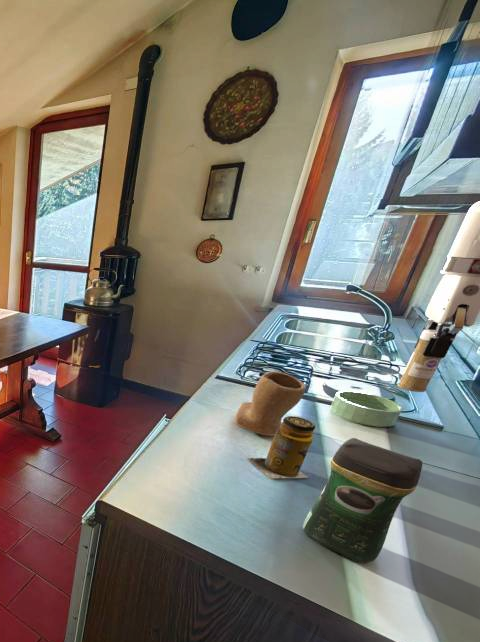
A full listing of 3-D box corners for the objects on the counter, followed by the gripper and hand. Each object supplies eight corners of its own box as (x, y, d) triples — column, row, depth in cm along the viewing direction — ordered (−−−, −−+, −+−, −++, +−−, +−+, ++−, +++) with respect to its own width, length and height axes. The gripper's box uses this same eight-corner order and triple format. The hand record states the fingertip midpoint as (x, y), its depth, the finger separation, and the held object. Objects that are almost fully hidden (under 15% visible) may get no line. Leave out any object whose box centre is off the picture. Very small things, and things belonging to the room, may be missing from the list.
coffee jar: (382, 550, 65) (436, 456, 57) (367, 572, 61) (423, 474, 53) (311, 515, 72) (351, 429, 65) (293, 533, 68) (334, 443, 61)
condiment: (308, 478, 83) (330, 429, 78) (270, 479, 82) (289, 430, 77) (281, 458, 89) (300, 412, 84) (246, 459, 89) (262, 412, 84)
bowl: (387, 414, 110) (395, 398, 108) (399, 433, 100) (408, 416, 98) (326, 402, 117) (333, 386, 115) (332, 419, 107) (339, 403, 105)
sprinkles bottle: (410, 392, 87) (439, 334, 81) (390, 384, 91) (417, 328, 85) (431, 393, 86) (462, 334, 81) (410, 384, 91) (438, 328, 85)
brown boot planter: (284, 445, 94) (306, 389, 88) (228, 428, 102) (245, 375, 96) (291, 423, 105) (311, 371, 99) (239, 409, 112) (255, 360, 106)
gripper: (522, 273, 70) (470, 368, 77) (480, 264, 83) (438, 346, 90) (460, 270, 73) (416, 361, 81) (429, 262, 86) (393, 341, 94)
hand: (428, 352), depth 85 cm, fingers closed on sprinkles bottle, 4 cm apart
